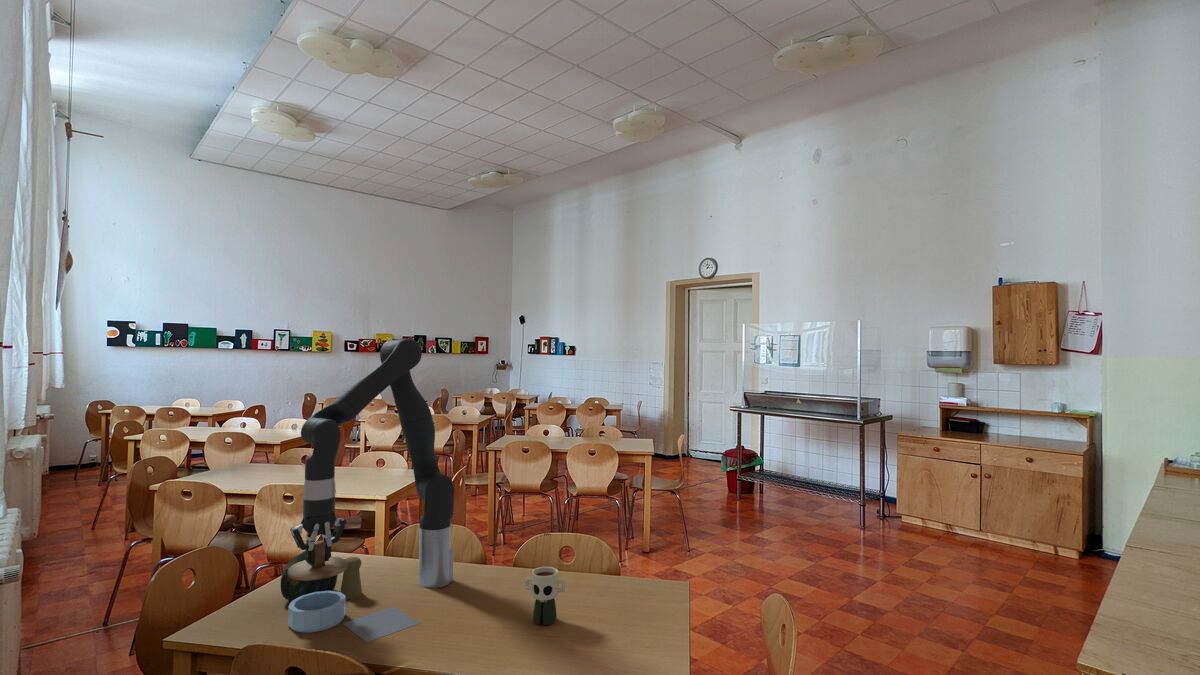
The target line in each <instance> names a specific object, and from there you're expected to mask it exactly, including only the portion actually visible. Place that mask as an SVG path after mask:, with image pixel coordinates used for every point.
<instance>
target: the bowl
mask: <svg viewBox="0 0 1200 675" xmlns="http://www.w3.org/2000/svg"><path fill="white" fill-rule="evenodd" d="M346 600H347V599H346V596H345V595H344V594H342V593H341V591H335V590H333V591H321V592H313V593H310V594H306V595H303V596H300V597H298V598H296V599H295V600H293V601H291V602H290V603H289V605H288V607H287V608H288V610H287V625H288V626H289V627H290V629H291V630H292V631H294V632H297V633H306V634H307V633H317V632H321V631H325V630H328V629H331V628H333V627H335V626H337V625H339V624H340V623H341V622H342V621H343V620H344V619H345V615H346Z"/></svg>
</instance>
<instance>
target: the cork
mask: <svg viewBox="0 0 1200 675" xmlns="http://www.w3.org/2000/svg"><path fill="white" fill-rule="evenodd" d="M345 559H346V560H347V561H348V567H347V569H346V570H345V571H344V572H342V579H341V587H340V592H341V593H342V594H344V595H345V596H346V600H353V599H354V600H355V599H357V598H359V597H361V596H362V594H363V588H362V584H361V582H362V580H361V575H360V568H361V566H362V560H361V558H360V557H357V556H349V557H346V558H345Z"/></svg>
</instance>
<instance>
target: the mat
mask: <svg viewBox="0 0 1200 675" xmlns="http://www.w3.org/2000/svg"><path fill="white" fill-rule="evenodd" d="M342 624H343V625H344V626H345V627H346V628H347V629H349V630H350V631H352V633H354V634H355V635H356V636H358V637H359V638H360V639H361V640H363V641H364V642H365V643H369V642H372V641H375V640H378V639H381V638H383V637H386V636H389V635H391V634H394V633H395V634H396V633H398V632H400V631H403V630H406V629H408V628H411V627H414V626H417V625H419V624H421V622H420V621H417V620H416V619H415V618H413V617H411V616H410V615H409V614H407V613H405V612H404V611H403V610H400V609H399V608H397V607H396V606H392V607H389V608H384V609H381V610H380V611H377V612H373V613H371V614H367V615H364V616H360V617H358V618H355V619H352V620H348V621H345V622H343V623H342Z"/></svg>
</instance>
